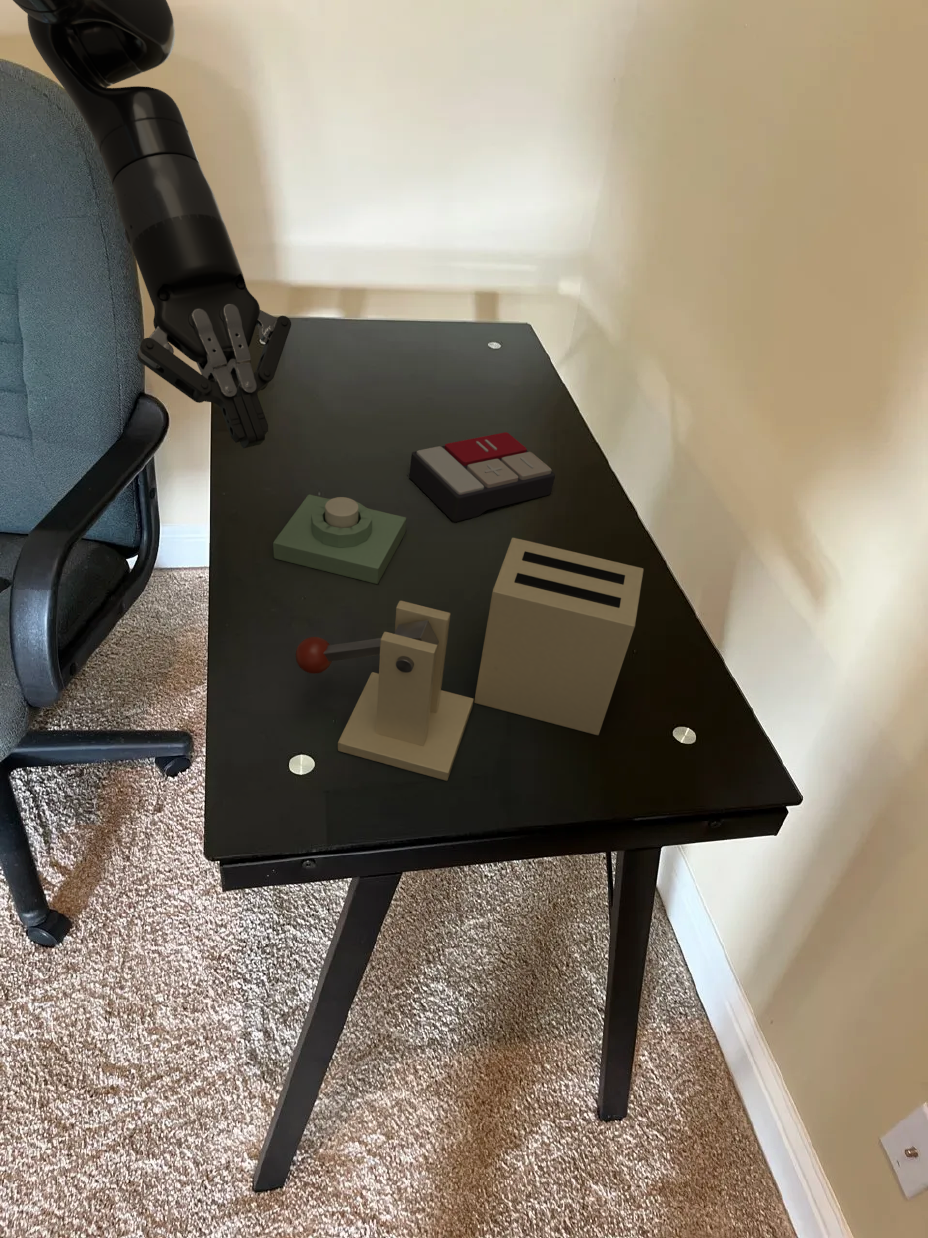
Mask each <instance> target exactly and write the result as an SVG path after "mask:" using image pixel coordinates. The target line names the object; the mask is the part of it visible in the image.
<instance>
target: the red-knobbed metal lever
mask: <svg viewBox="0 0 928 1238" xmlns="http://www.w3.org/2000/svg"><path fill="white" fill-rule="evenodd" d="M393 634H396V635H400V636H404V637H408V638H412V639H416V640H420V641H423V642H427V643H431V644H435V645H437V646H438V643H439V641H438V639H437V637H436V635H435V633H434V631H433V629H432V627H431V625H430V623H429V621H428V620H426V621H419V622H412V623H405V624H399V625H398V627H397V629H396V631H395V630H394V633H393ZM381 638H382V637H377V638H371V639H364V640H357V641H350V642H342V643H333V644H330V643H329V642H328V640H326V639H324V638H322V637H319V636H309V637H307V638H305V639H303V640H302V641H300V643H299V644H298V646H297V647H296V649H295V660H296V663H297V665H298V666H299V669H301V670H302V671H304V672H305V673H308V674H312V675H313V674H314V675H315V674H321V673H323V672H325V671H326V670H327V669H328V668H329V667H330V666H331V664H332V662H336V661H342V660H343V661H344V660H351V659H352V660H353V659H357V658H365V657H366V658H367V657H372V656H380V641H381Z"/></svg>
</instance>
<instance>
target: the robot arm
mask: <svg viewBox="0 0 928 1238" xmlns="http://www.w3.org/2000/svg"><path fill="white" fill-rule="evenodd" d="M12 1H13V3H15V4H16V5H17V6H18V7H19V9H21V10H22V11H23V12H25V13H26V14H27V16H26V18H27V26H28V32H29V34H30V35H29V36H30V37H31V40H32V43H33V44H34V47H35V48H36V50H37V52H38V53H39V55H40V57H41V59H42V60H43V61H44V63H45V64H46V66H47V67H48V68H49V70H50V71H51V72H52V74H53V75H54V77H55V78H56V79H57V81H58V82H59V83H60V85H61V87H62V88H63V89H64V90H65V92H66V93H67V94H68V96H69V98H70V99H71V100H72V102H73V103H74V105H75V107H76V109H77V110H78V112H79V113H80V115H81V117H82V119H83V120H84V123H85V124H86V126H87V128H88V130H89V131H90V133H91V135H92V136H93V140H94V142H95V144H96V146H97V149H98V151H99V154H100V156H101V159H102V162H103V164H104V167H105V170H106V173H107V176H108V179H109V181H110V184H111V186H112V190H113V192H114V193H113V194H114V195H115V199H116V203H117V207H118V208H117V209H118V212H119V217H120V220H121V224H122V226H123V228H124V236H125V238H126V241H127V243H128V244H129V246H130V247H131V251H132V253H133V255H134V259H135V261H136V263H137V266H138V268H139V269H138V270H139V272H140V275H141V278H142V279H143V283H144V285H145V288H146V290H147V294H148V296H149V299H150V301H151V304H152V307H153V309H154V316H153V327H154V330H153V331H152V333H151V334H150V335H149V336H148V337H145V338H143V339H142V340H141V343H140V345H139V349H138V351H137V354H136V358H137V361H139V363H141V364H142V365H143V366H145V368H148V369H149V370H150V371H152V372H153V373H155V374H156V375H157V376H159V377H160V378H162V379H163V380H164V381H166V382H167V383H169V384H170V385H171V386H172V387H174V388H176V390H178V391H179V392H181V393H182V394H184V395H185V396H186V397H188V398H189V399H190V400H192V401H193V402H195V403H198V404H201V403H203V402H206V403H212V404H215V405H217V406H218V407H219V409H220V412H221V414H222V417H223V419H224V422H225V424H226V428H227V430H228V433H229V437H230V438H231V440H232V441H233V442H234V443H235V444H237V443H240V446H241V447H242V449H248V448H251V447H255V446H259V445H261V444H262V443H263V442H264V441H266V436H265V435H266V434H268V433H269V424H268V421H267V418H266V415H265V413H264V410H263V407H262V404H261V402H260V399H259V396H258V392H260V391H263V390H265V389H266V388H267V387H268V385H269V383H270V382H271V381H273V379H274V378H275V375H276V371H277V368H278V366H279V363H280V360H281V357H282V354H283V351H284V348H285V346H286V342H287V339H288V336H289V333H290V330H291V327H292V321H291V319H290V318H289V317H288V316H286V315H280V316H279V317H276V316H273V315H272V314H271V313H270V314H269V313H268V312H266V311H264V310H262V309H261V307H260V306H261V305H260V303H259V301H258V300H257V299H256V297H255V296H253V295H252V293H251V292H250V291H249V289H248V287H247V284H246V280H245V277H244V274H243V271H242V270H243V269H242V267H241V266H240V262H239V259H238V257H237V254H236V251H235V248H234V245H233V243H232V240H231V237H230V233H229V232H228V229H227V227H226V226H227V225H226V223H225V220H224V218H223V215H222V212H221V209H220V207H219V204H218V201H217V199H216V196H215V194H214V191H213V189H212V187H211V185H210V183H209V181H208V179H207V177H206V175H205V173H204V172H203V171H204V170H203V169H202V166H201V164H200V161H199V158H198V154H197V152H196V150H195V146H194V144H193V141H192V138H191V136H190V133H189V130H188V127H187V125H186V121H185V120H184V116H183V113H182V111H181V110H180V108H179V106H178V104H177V103H176V102H175V100H174V99H173V97H171V95H169V94H168V93H166V92H165V91H163V90H161V89H158V88H155V87H151V86H140V85H138V86H137V85H135V86H133V85H132V86H122V87H111V86H112V85H115V84H117V83H120V82H123V81H125V80H128V79H131V78H133V77H136V76H138V75H141V74H143V73H146V72H149V71H150V70H153V69H156V68H157V67H160V66H161V65H162V64H164V63H165V62H166V61H167V60H169V57H170V56H171V54H172V52H173V50H174V46H175V42H176V27H175V21H174V16H173V14H172V11H171V8H170V5H169V3H168V1H167V0H12ZM256 327H257V328H258V337H259V340H260V341H261V342H262V343H263V344H264V345H263V348H262V351H261V353H260V357H259V359H258V362H257V366H256V369H255V371H253V368H252V367H253V366H252V364H251V363H252V357H251V354H250V349H249V347H250V346H251V343H252V340H253V336H254V333H255V330H256ZM174 348H175V349H176V350H178V351H179V352H181V353H182V354H183V356H186V357H187V358H188V359H189V360H191V361H193V362H194V363H196V365H197V367H198V370H199V371H197V369H195V368H193V367H192V366H190V365H189V364H188V363H186V362H185V361H184V360H182V359H181V358H180V357H179V356H177V355H175V354H174V352H175V350H174Z"/></svg>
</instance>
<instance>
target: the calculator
mask: <svg viewBox="0 0 928 1238" xmlns="http://www.w3.org/2000/svg"><path fill="white" fill-rule="evenodd" d="M408 472H409V473H408V478H409V479H410V480H411V481H412V482H413V483H414V484H415V485H416V486H418V487H419V489H420V490H421V491H422V492H423V493H424V494H425V495H426V496H427V497H428V498H429V499H430V500H431V501H432V502H433V503H434V504H435V505H436V506H437V507H438V508H439V509H440V510H441V511H442V512H443V513H444V514H445V515H446V516H447V518H449V519H450V520H451V521H452V522H455V523H456V522H460V521H465V520H469V519H472V518H477V517H479V516H481V515H482V514H484V513H485V512H486V511H489V510H493V509H497V508H500V507H501V508H502V507H504V506H509V505H513V504H517V503H522V502H526V501H529V500H535V499H537V498H541V497H545V496H549V495H551V494H552V490H553V486H554V483H555V478H556V473H555V472H553V471H552V469H551V467H550V466H549V465H547V464H546V463H545V462H544V461H542V459H540V458H539V457H538V456H537V455H535V453H533V452H532V451H529V450H528V449H527V447H526V446H525V445H524V444H522V443H521V442H520V441H518V440H517V439H516V438H515V437H514V436H512V435H511V434H510V433H509V432H506V431H504V432H499V433H494V434H488V435H484V436H480V437H479V436H478V437H474V438H467V439H464V440H458V441H452V442H447V443H445V444H444V445H441V446H434V447H433V446H432V447H429V448H422V449H418V450H416V451H412V452H411V457H410V465H409V471H408Z"/></svg>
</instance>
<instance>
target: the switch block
mask: <svg viewBox="0 0 928 1238" xmlns="http://www.w3.org/2000/svg"><path fill="white" fill-rule="evenodd" d="M329 500H331V498H325V497H322V496H318V495H314V494H309V493H308V494H307V495H306V497H305V498H304V499H303V501H302V502H301V503H300V505H299V506H298V508H297V509H296V510H295V512H294V513H293V515H292V516H291V517H290V519H288V521H287V523H286V524H285V526H284V527H283V529H281V531H280V532H279V534H278V535H277V537H275V539H274V541H272V548H273V549H272V550H273V559H275V560H278V561H282V562H287V563H291V564H295V565H299V566H303V567H306V568H311V569H315V570H319V571H323V572H327V573H331V574H335V575H338V576H339V575H340V576H343V577H347V578H351V579H355V580H359V581H363V582H367V583H371V584H375V585H379V582H380V580H381V579H382V577H383V575H384V573H385V572H386V570H387V568H388V566H389V564H390V562H391V560H392V559H393V556H394V555H395V554H396V551H397V549H398V547H399V545H400V543H401V541H402V539H403V538H404V536H405V534H406V532H407V531H406V528H407V517H406V516H402V515H397V514H392V513H388V512H384V511H380V510H378V509H377V510H376V509H372V508H367V507H366V506H364V505H363V504H362V503H360V502H358V501H355V502H356V503H357V504H358V522H357V524H356V525H354V526H352V527H350V528H337V527H333V526H330V525H329V524H327V522H326V520H325V505H326V503H327V502H328V501H329Z"/></svg>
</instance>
